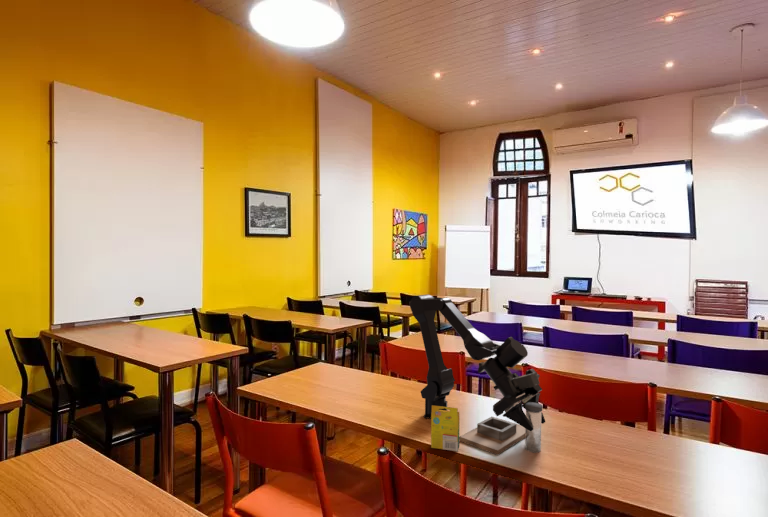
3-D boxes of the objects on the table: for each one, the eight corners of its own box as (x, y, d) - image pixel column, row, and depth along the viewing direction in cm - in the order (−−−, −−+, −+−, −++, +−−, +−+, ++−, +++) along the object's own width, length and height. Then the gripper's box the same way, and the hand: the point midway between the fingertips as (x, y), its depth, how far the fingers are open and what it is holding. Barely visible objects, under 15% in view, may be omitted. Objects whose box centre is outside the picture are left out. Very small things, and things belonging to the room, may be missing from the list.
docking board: (459, 440, 125) (459, 427, 124) (495, 421, 139) (496, 409, 139) (497, 454, 116) (497, 441, 116) (532, 432, 130) (532, 420, 130)
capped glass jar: (524, 451, 118) (525, 407, 118) (524, 444, 123) (524, 401, 122) (542, 453, 117) (543, 408, 117) (540, 446, 121) (541, 403, 121)
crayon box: (459, 447, 120) (460, 404, 120) (457, 452, 118) (458, 408, 117) (432, 443, 123) (433, 401, 122) (430, 448, 120) (431, 405, 120)
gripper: (504, 367, 115) (544, 421, 108) (536, 355, 129) (573, 402, 121) (477, 390, 121) (513, 442, 114) (510, 376, 134) (545, 422, 127)
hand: (538, 426), depth 119 cm, fingers open, 7 cm apart
